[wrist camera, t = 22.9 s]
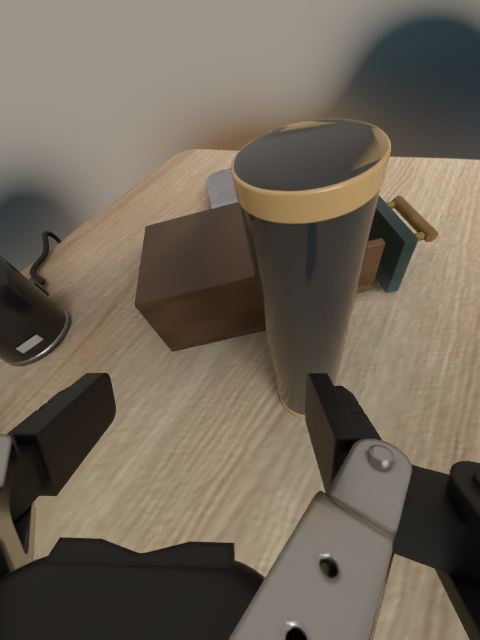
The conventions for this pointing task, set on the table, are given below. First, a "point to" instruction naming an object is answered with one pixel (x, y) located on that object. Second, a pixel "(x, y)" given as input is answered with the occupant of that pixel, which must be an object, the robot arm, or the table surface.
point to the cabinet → (199, 279)
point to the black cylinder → (309, 238)
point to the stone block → (221, 188)
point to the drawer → (392, 244)
